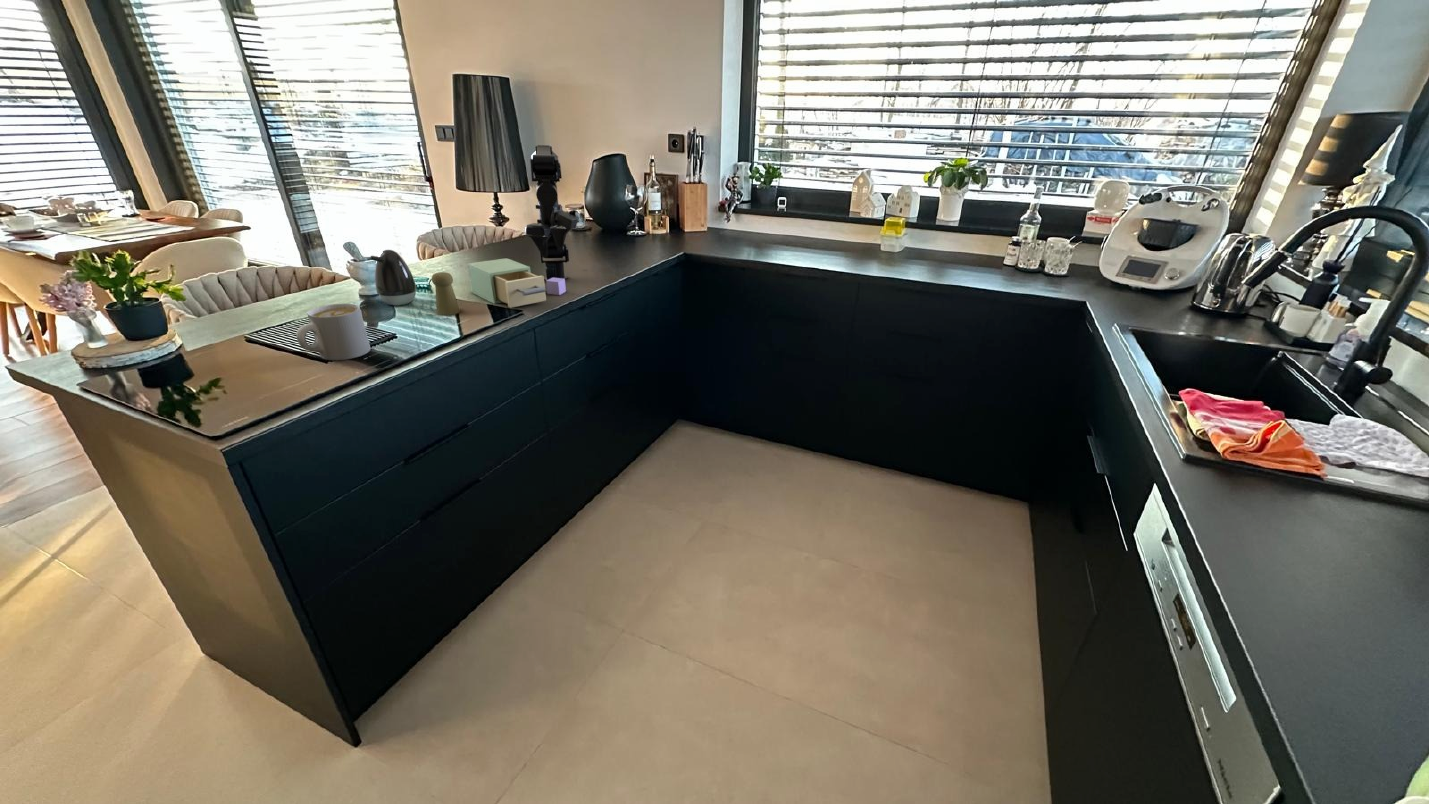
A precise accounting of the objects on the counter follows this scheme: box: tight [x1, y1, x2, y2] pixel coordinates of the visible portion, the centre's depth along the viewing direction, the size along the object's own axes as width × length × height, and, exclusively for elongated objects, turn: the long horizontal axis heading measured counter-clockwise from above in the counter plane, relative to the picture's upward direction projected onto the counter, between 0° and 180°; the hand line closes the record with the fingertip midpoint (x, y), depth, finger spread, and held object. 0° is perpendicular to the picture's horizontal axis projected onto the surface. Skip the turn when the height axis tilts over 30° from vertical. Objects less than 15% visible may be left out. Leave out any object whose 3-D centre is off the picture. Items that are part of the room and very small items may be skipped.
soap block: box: [545, 278, 567, 296], centre depth 175 cm, size 4×4×4 cm
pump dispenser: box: [369, 249, 418, 306], centre depth 157 cm, size 10×10×15 cm
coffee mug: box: [296, 303, 372, 361], centre depth 124 cm, size 13×10×10 cm
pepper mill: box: [431, 271, 461, 316], centre depth 153 cm, size 6×6×11 cm
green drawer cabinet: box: [467, 257, 532, 305], centre depth 170 cm, size 15×13×9 cm
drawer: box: [493, 271, 547, 309], centre depth 163 cm, size 18×11×7 cm, turn 45°
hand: (553, 254), depth 170 cm, fingers open, 9 cm apart
